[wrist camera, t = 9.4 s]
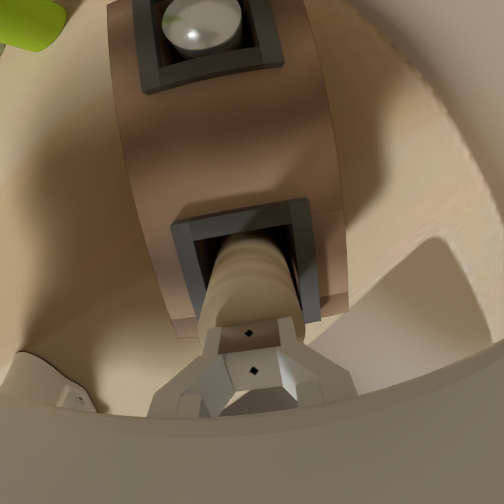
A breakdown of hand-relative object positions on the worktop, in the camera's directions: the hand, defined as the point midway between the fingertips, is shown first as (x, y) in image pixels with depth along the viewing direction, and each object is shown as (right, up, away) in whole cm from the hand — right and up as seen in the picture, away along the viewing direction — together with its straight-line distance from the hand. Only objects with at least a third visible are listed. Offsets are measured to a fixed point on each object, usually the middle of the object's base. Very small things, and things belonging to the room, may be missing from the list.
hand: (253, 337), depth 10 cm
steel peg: (-3, +17, +8) cm, 19 cm away
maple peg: (0, +3, +8) cm, 8 cm away
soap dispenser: (-22, +27, +6) cm, 35 cm away
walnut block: (-1, +12, +12) cm, 17 cm away
